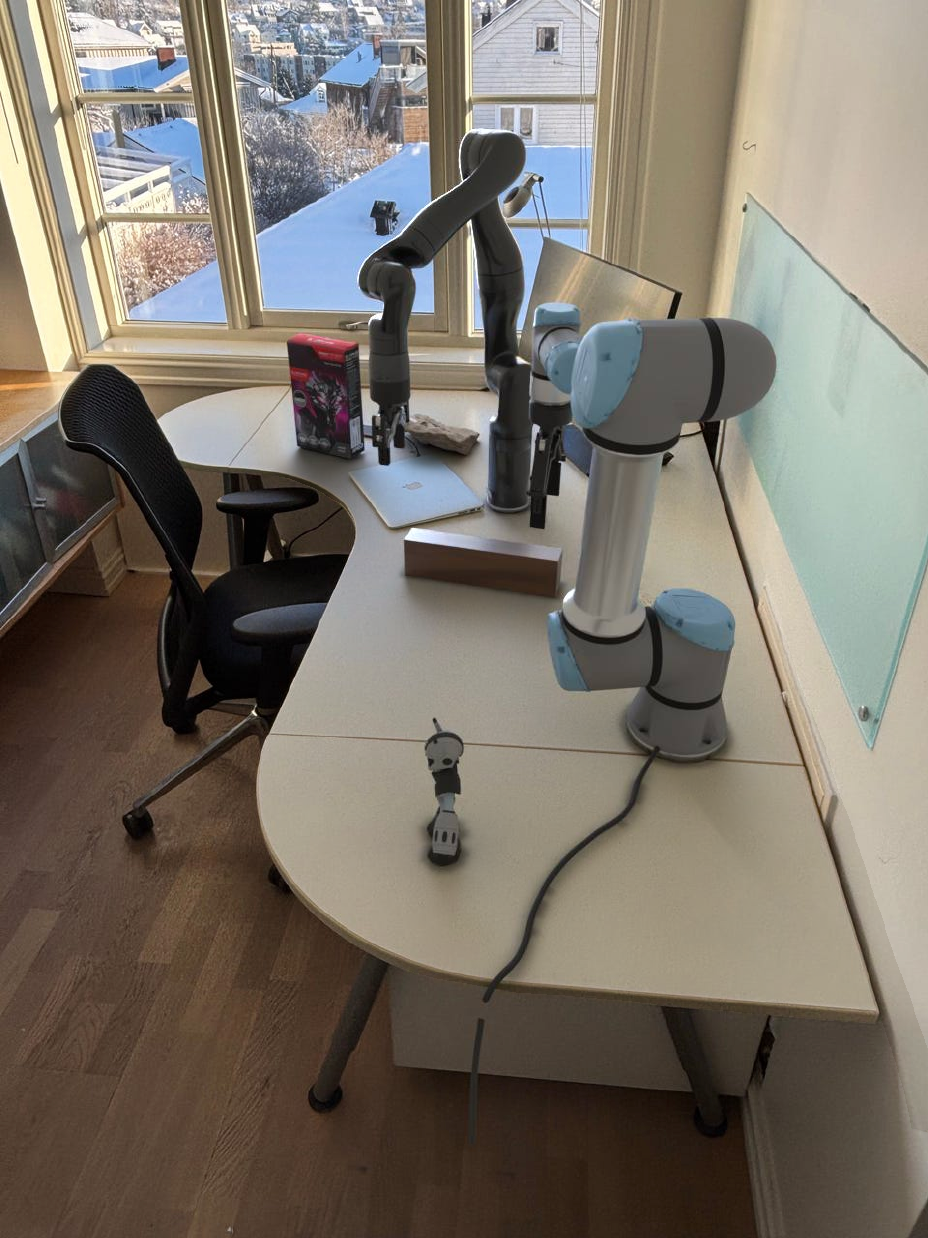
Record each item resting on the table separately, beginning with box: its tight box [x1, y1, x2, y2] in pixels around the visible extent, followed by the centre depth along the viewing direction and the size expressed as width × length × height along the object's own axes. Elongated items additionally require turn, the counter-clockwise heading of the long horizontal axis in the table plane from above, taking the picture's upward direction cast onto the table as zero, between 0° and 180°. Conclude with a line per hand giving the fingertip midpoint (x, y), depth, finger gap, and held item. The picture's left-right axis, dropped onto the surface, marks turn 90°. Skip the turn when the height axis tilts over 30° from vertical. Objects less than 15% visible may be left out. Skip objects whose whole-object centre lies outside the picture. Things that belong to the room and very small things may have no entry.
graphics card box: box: [286, 332, 366, 459], centre depth 224 cm, size 17×7×27 cm, turn 62°
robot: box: [423, 717, 465, 867], centre depth 118 cm, size 20×5×20 cm, turn 3°
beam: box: [403, 527, 564, 599], centre depth 178 cm, size 5×30×8 cm, turn 75°
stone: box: [404, 413, 481, 455], centre depth 233 cm, size 21×15×6 cm
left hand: (392, 455), depth 178 cm, fingers open, 8 cm apart
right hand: (544, 510), depth 168 cm, fingers open, 13 cm apart
